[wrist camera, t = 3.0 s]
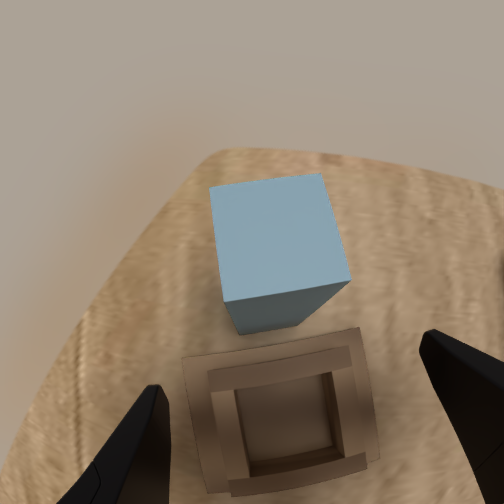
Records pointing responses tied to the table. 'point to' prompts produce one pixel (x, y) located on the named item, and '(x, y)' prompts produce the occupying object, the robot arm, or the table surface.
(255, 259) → the pale blue tower
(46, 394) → the table surface
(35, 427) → the table surface
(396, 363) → the table surface
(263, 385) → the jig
